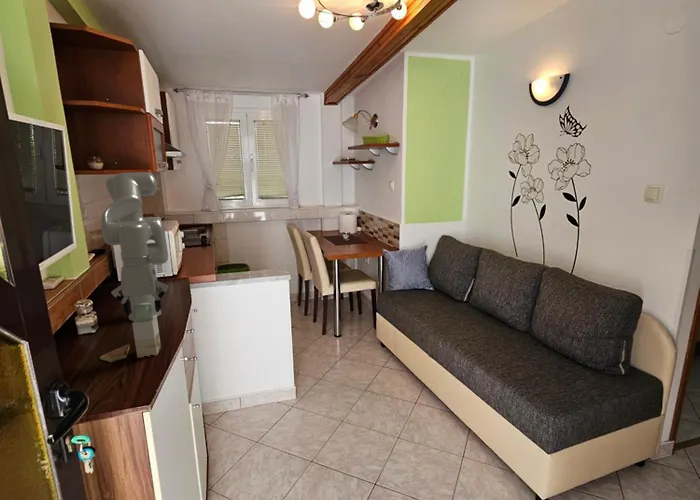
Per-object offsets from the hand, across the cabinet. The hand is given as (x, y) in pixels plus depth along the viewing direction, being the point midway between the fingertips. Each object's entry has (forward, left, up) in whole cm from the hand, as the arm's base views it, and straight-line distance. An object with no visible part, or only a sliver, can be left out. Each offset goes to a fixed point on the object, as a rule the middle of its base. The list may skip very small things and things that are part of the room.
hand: (143, 312), depth 127 cm
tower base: (0, 0, -15) cm, 15 cm away
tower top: (0, 0, -9) cm, 9 cm away
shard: (-2, -11, -15) cm, 19 cm away
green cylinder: (0, 0, -3) cm, 3 cm away
